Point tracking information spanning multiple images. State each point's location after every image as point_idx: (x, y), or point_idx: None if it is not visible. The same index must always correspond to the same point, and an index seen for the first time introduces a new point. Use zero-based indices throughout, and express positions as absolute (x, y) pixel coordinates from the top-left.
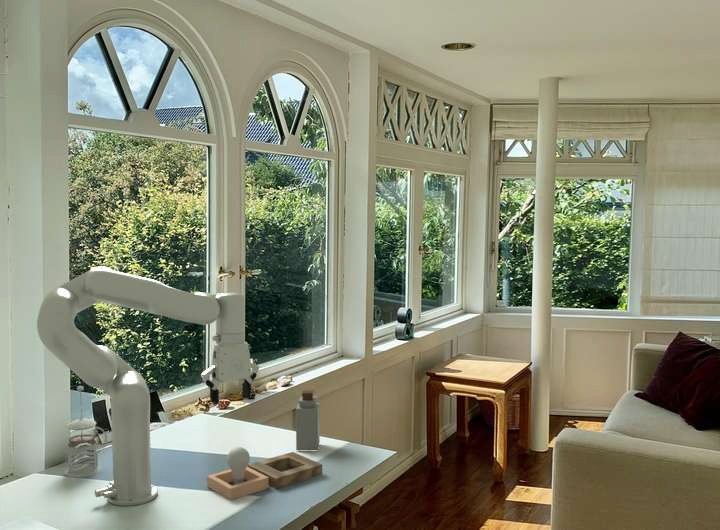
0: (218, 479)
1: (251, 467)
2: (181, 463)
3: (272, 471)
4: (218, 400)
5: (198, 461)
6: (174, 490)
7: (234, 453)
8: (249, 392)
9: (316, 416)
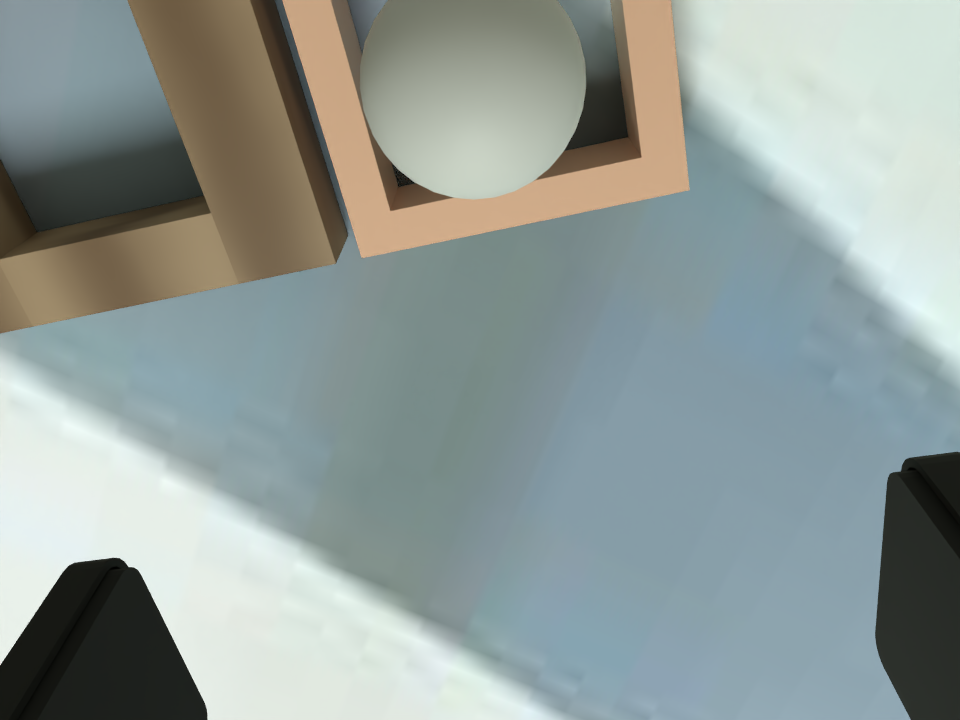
0: (644, 71)
1: (319, 208)
2: (649, 577)
3: (182, 17)
4: (936, 508)
5: (553, 564)
6: (879, 212)
7: (538, 37)
8: (22, 659)
9: None
